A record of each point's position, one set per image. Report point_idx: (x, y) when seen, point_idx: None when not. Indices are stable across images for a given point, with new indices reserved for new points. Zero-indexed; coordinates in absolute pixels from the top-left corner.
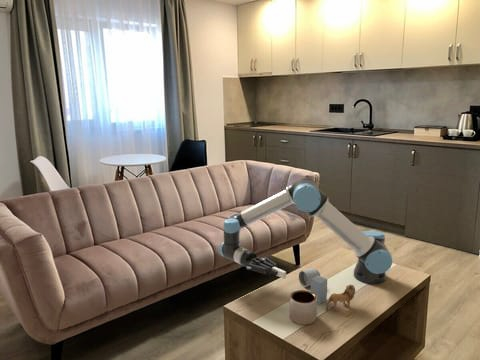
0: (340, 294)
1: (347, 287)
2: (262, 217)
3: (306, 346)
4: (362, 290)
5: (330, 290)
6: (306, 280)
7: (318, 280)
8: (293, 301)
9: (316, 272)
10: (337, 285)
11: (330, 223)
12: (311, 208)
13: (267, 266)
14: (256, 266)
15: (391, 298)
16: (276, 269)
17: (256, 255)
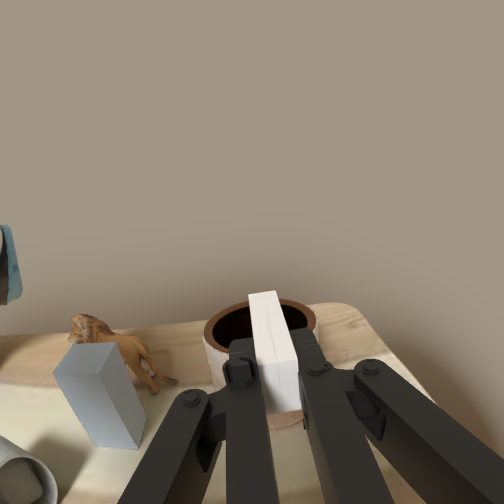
0: (118, 336)
1: (87, 323)
2: None
3: (353, 322)
4: (22, 378)
5: (44, 430)
6: (28, 484)
7: (98, 353)
8: (317, 320)
9: None
10: (9, 425)
11: None
12: None
13: (323, 400)
14: (468, 438)
15: (44, 339)
16: (285, 327)
17: None
